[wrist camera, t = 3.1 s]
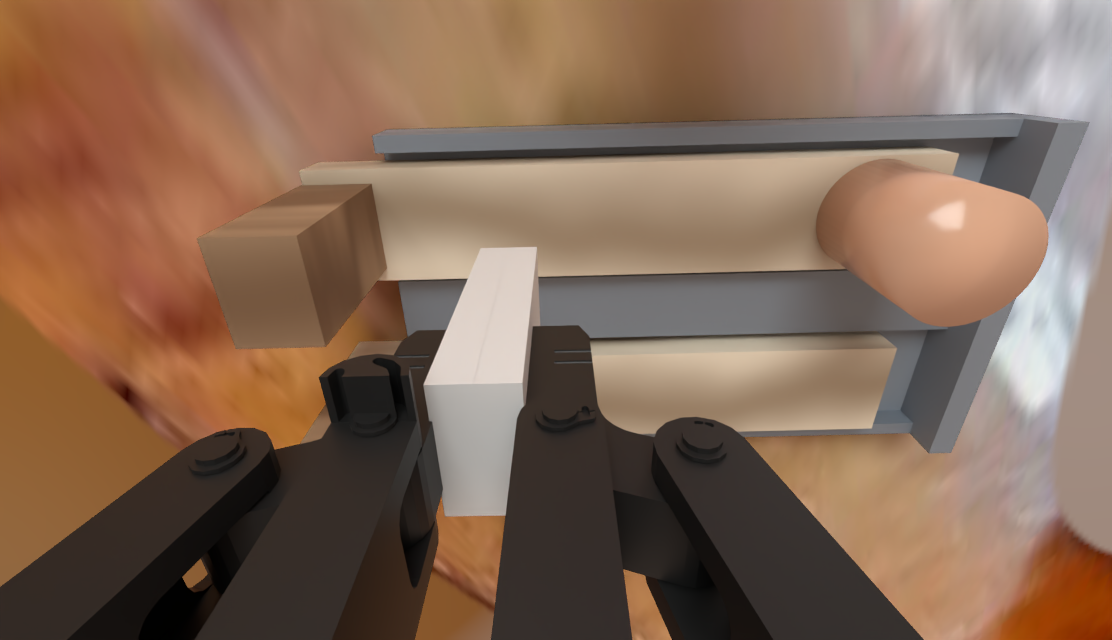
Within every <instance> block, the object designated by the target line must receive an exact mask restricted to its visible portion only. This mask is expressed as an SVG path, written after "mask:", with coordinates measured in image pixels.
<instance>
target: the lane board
mask: <svg viewBox="0 0 1112 640" xmlns="http://www.w3.org/2000/svg"><path fill="white" fill-rule="evenodd" d="M1089 123H1090V122H1083V121H1074V120H1066V119H1058V118H1049V117H1041V116H1032V115H1024V114H1016V113H995V114H957V115H919V116H881V117H843V118H805V119H767V120H729V121H692V122H654V123H616V124H578V125H540V126H502V127H464V128H426V129H389V130H385V131H382V132H380V133H378V134H375V135H373V136H372V138H373V143H374V149H375V153H384V155H385V160H421V159H459V158H498V157H536V156H574V155H612V154H651V153H689V152H727V151H765V150H804V149H842V148H880V147H919V146H928V147H933V148H937V149H941V150H946V151H950V152H954V153H958V154H959V156H958V159H957V163H956V166H955V169H954V172H953V176H957V177H960V178H964V179H967V180H971V181H974V182H977V183H981V184H984V185H988V186H991V187H995V188H998V189H1002V190H1005V191H1008V192H1012V193H1015V194H1018V195H1021V196H1024V197H1026V198H1027V199H1029V200H1031V201H1032V202H1033V203H1034V204H1036V205H1037V206H1038V208H1039V209H1040V210H1041V211H1042V213H1043V215H1044V217H1045V219H1046V222H1047V223H1048V220H1049V218H1050V216H1051V213H1052V211H1053V208H1054V206H1055V204H1056V201H1057V199H1058V196H1059V194H1060V192H1061V189H1062V187H1063V185H1064V182H1065V180H1066V177H1067V175H1068V173H1069V170H1070V168H1071V165H1072V163H1073V161H1074V158H1075V156H1076V154H1077V151H1078V149H1079V146H1080V144H1081V142H1082V139H1083V137H1084V134H1085V132H1086V130H1087V127H1088V125H1089ZM467 280H468V279H428V280H399V281H398V285H399V290H400V296H401V302H402V307H403V313H404V319H405V324H406V330H407V336H410V335H411V334H413V333H414V332H415V331H417V330H447V327H448V325H449V323H450V320H451V318H452V316H453V313H454V311H455V308H456V306H457V304H458V301H459V299H460V296H461V294H462V292H463V289H464V287H465V284H466V282H467ZM538 283H539V307H540V326H566V325H579V326H580V327H581V328H582V329H583V330H584V331H585V332H586V333H587V334H588V335H589V337H590V338H609V337H650V336H691V335H731V334H772V333H813V332H854V331H877V332H879V333H880V334H881V335H882V336H883V337H884V338H886V339H887V340H888V341H889V342H890V343H892V344H893V345H894V346H895V347H896V348H897V351H896V354H895V357H894V360H893V363H892V366H891V369H890V372H889V376H888V379H887V382H886V385H885V388H884V391H883V394H882V397H881V401H880V404H879V407H878V410H877V413H876V416H875V419H874V422H873V426H872V428H870V429H828V430H785V431H743V432H738V433H739V434H740V435H741V436H743V437H767V436H810V435H852V434H895V433H910V434H911V435H912V436H913V437H914V438H915V439H916V440H917V441H918V442H919V444H920V445H921V446H922V447H923V448H924V449H925V450H926V451H927V452H928V453H951V452H952V449H953V447H954V445H955V442H956V440H957V437H958V435H959V433H960V430H961V428H962V425H963V423H964V421H965V418H966V416H967V414H968V411H969V409H970V406H971V404H972V402H973V399H974V397H975V394H976V392H977V390H978V387H979V385H980V383H981V380H982V378H983V375H984V373H985V371H986V368H987V366H988V363H989V361H990V359H991V356H992V354H993V352H994V349H995V347H996V344H997V342H998V340H999V337H1000V335H1001V332H1002V330H1003V328H1004V325H1005V323H1006V321H1007V318H1008V316H1009V313H1010V311H1011V309H1012V306H1013V304H1014V301H1015V299H1016V298H1015V299H1014V300H1013V301H1012V302H1010V303H1009V304H1008V305H1006V306H1005V307H1003V308H1002V309H1000V310H999V311H997V312H995V313H994V314H992V315H990V316H988V317H986V318H983V319H981V320H978V321H976V322H972V323H969V324H965V325H960V326H951V327H940V326H933V325H929V324H926V323H923V322H921V321H919V320H917V319H915V318H914V317H912V316H911V315H910V314H908V313H907V312H905V311H904V310H903V309H901V308H900V307H898V306H897V305H896V304H894V303H893V302H891V301H890V300H889V299H887V298H886V297H884V296H883V295H882V294H880V293H879V292H877V291H876V290H875V289H873V288H872V287H870V286H869V285H868V284H866V283H865V282H863V281H862V280H861V279H859V278H858V277H856V276H855V275H854V274H852V273H851V272H849V271H848V270H847V269H827V270H787V271H747V272H707V273H668V274H628V275H588V276H548V277H538ZM642 435H646V436H651V437H655V434H642Z"/></svg>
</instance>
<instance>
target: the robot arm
mask: <svg viewBox="0 0 1112 640" xmlns="http://www.w3.org/2000/svg"><path fill="white" fill-rule="evenodd" d="M319 380H320V383H321V387H322V391H323V395H324V398H325V402H326V406H327V409H328V413H329V417H330V421H331V424H330V425H329V427H328V429H327V430H326V432H325V433H324V435H323V437H322V438H321V439H318V440H315V441H311V442H307V443H303V444H298V445H294V446H289V447H285V448H280V449H276V450H274V447H273V445H272V442H271V439H270V438H269V436H268V435H267V433H266V432H263V431H261V430H258V429H255V428H236V429H229V430H224V431H220V432H216V433H214V434H212V435H210V436H207V437H205V438H202V439H200V440H198V441H196V442H195V443H193V444H191V445H190V446H188V447H186V448H185V449H183V450H182V451H180V452H179V453H178V454H176V455H175V456H174V457H172V458H171V459H170V460H168V461H167V462H166V463H164V464H163V465H162V466H160V467H159V468H158V469H156V470H155V471H154V472H152V473H151V474H150V475H148V476H147V477H146V478H144V479H143V480H142V481H140V482H139V483H138V484H136V485H135V486H134V487H132V488H131V489H130V490H128V491H127V492H126V493H124V494H123V495H122V496H120V497H119V498H118V499H116V500H115V501H114V502H113V503H111V504H110V505H109V506H107V507H106V508H105V509H103V510H102V511H101V512H99V513H98V514H97V515H95V516H94V517H93V518H91V519H90V520H89V521H87V522H86V523H85V524H83V525H82V526H81V527H79V528H78V529H77V530H75V531H74V532H73V533H71V534H70V535H69V536H67V537H66V538H65V539H63V540H62V541H61V542H59V543H58V544H57V545H55V546H54V547H53V548H52V549H50V550H49V551H47V552H46V553H45V554H43V555H42V556H41V557H39V558H38V559H37V560H35V561H34V562H33V563H31V564H30V565H29V566H28V567H26V568H25V569H23V570H22V571H21V572H20V573H18V574H17V575H16V576H14V577H13V578H12V579H10V580H9V581H8V582H6V583H5V584H4V585H2V586H1V587H0V640H415V636H416V632H417V628H418V624H419V620H420V615H421V612H422V608H423V603H424V599H425V595H426V591H427V587H428V583H429V579H430V575H431V571H432V567H433V563H434V559H435V554H436V550H437V546H438V526H437V520H436V513H437V509H438V506H439V502H440V498H441V496H442V502H443V508H444V514H445V516H501V515H506V516H505V525H504V533H503V542H502V550H501V559H500V567H499V576H498V585H497V593H496V602H495V610H494V619H493V628H492V636H491V640H632V634H631V626H630V618H629V611H628V603H627V595H626V588H625V580H624V572H623V569H625V570H628V571H632V572H635V573H639V574H642V575H645V577H646V581H647V584H648V587H649V589H650V591H651V593H652V596H653V598H654V600H655V602H656V605H657V607H658V609H659V611H660V614H661V616H662V618H663V620H664V623H665V625H666V627H667V629H668V632H669V634H670V636H671V638H672V640H924V639H923V638H922V637H921V636H920V635H919V634H918V633H917V632H916V630H915V629H914V628H913V627H912V626H911V625H910V624H909V623H908V621H907V620H906V619H905V618H904V617H903V616H902V615H901V614H900V612H899V611H898V610H897V609H896V608H895V607H894V606H893V605H892V603H891V602H890V601H889V600H888V599H887V598H886V597H885V596H884V594H883V593H882V592H881V591H880V590H879V589H878V588H877V587H876V585H875V584H874V583H873V582H872V581H871V580H870V579H869V578H868V576H867V575H866V574H865V573H864V572H863V571H862V570H861V569H860V567H859V566H858V565H857V564H856V563H855V562H854V561H853V560H852V558H851V557H850V556H849V555H848V554H847V553H846V552H845V551H844V549H843V548H842V547H841V546H840V545H839V544H838V543H837V542H836V540H835V539H834V538H833V537H832V536H831V535H830V534H829V533H828V531H827V530H826V529H825V528H824V527H823V526H822V525H821V524H820V522H819V521H818V520H817V519H816V518H815V517H814V516H813V515H812V513H811V512H810V511H809V510H808V509H807V508H806V507H805V506H804V505H803V503H802V502H801V501H800V500H799V499H798V498H797V497H796V496H795V494H794V493H793V492H792V491H791V490H790V489H789V488H788V487H787V485H786V484H785V483H784V482H783V481H782V480H781V479H780V478H779V476H778V475H777V474H776V473H775V472H774V471H773V470H772V469H771V467H770V466H769V465H768V464H767V463H766V462H765V461H764V460H763V458H762V457H761V456H760V455H759V454H758V453H757V452H756V451H755V449H754V448H753V447H752V446H751V445H750V444H749V443H748V442H747V440H746V439H745V438H744V437H743V436H741V435H740V434H739V433H738V432H736V431H735V430H734V429H733V428H732V427H729V426H727V425H725V424H723V423H720V422H718V421H716V420H711V419H706V418H701V417H682V418H678V419H675V420H672V421H669V422H666V423H665V424H664V425H663V426H661V427H660V428H659V429H658V430H657V431H656V434H655V437H651V436H646V435H642V434H637V433H633V432H630V431H626V430H624V429H622V428H619V427H617V426H615V425H614V424H612V423H611V422H610V421H608V420H607V419H606V418H605V417H604V416H603V414H602V413H601V411H600V409H599V406H598V402H597V394H596V386H595V378H594V369H593V363H592V353H591V345H590V337H589V335H588V334H587V333H586V332H585V331H584V330H583V329H582V328H581V327H580V326H579V325H566V326H540V307H539V283H538V260H537V247H510V248H481V249H480V251H479V253H478V256H477V258H476V261H475V263H474V265H473V268H472V270H471V273H470V275H469V277H468V280H467V282H466V284H465V287H464V289H463V292H462V294H461V296H460V299H459V301H458V304H457V306H456V308H455V311H454V313H453V316H452V318H451V320H450V323H449V325H448V327H447V330H417V331H415V332H414V333H413V334H411V335H410V336H408V337H407V338H406V339H404V340H403V341H402V342H401V343H400V345H399V346H398V348H397V350H396V352H395V353H394V355H387V354H371V355H363V356H358V357H355V358H351V359H348V360H344V361H342V362H340V363H338V364H336V365H334V366H332V367H330V368H329V369H328V370H326V371H325V372H324V373H323V374H322V375H321V376H320V377H319ZM200 558H201V560H202V562H203V564H204V566H205V569H206V570H207V573H208V575H207V576H206V577H205V578H204V579H203V580H201V581H200V582H199V583H197V584H196V585H195V586H193V587H192V588H188V587H187V586H186V584H185V582H184V580H183V578H182V576H183V575H184V574H185V573H186V572H187V571H188V570H189V569H190V568H191V567H192V566H193V565H194V564H195V563H196V562H197V561H198V560H199V559H200Z"/></svg>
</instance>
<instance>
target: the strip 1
mask: <svg viewBox="0 0 1112 640" xmlns="http://www.w3.org/2000/svg"><path fill="white" fill-rule="evenodd" d="M958 156H959V154H958V153H954V152H950V151H946V150H941V149H937V148H933V147H928V146H919V147H880V148H842V149H804V150H765V151H727V152H689V153H651V154H612V155H574V156H536V157H498V158H459V159H421V160H383V161H344V162H318V163H316V164H313V165H311V166H309V167H307V168H304V169H302V170H300V171H299V173H300V178H301V182H302V185H301V186H299V187H297V188H295V189H293V190H291V191H289V192H287V193H285V194H283V195H281V196H279V197H277V198H275V199H273V200H271V201H269V202H267V203H265V204H263V205H261V206H259V207H258V208H256V209H254V210H252V211H250V212H248V213H246V214H244V215H242V216H240V217H238V218H236V219H234V220H232V221H230V222H228V223H226V224H224V225H222V226H220V227H218V228H216V229H214V230H212V231H210V232H208V233H206V234H204V235H202V236H200V237H198V238H197V241H198V244H199V246H200V249H201V252H202V255H203V258H204V261H205V263H206V266H207V269H208V272H209V275H210V277H211V280H212V283H213V286H214V289H215V292H216V294H217V297H218V300H219V303H220V306H221V309H222V311H223V314H224V317H225V320H226V323H227V325H228V328H229V331H230V334H231V337H232V340H233V342H234V345H235V348H236V349H263V348H304V347H326V346H327V344H328V343H329V342H330V341H331V339H332V338H333V337H334V336H335V334H336V333H337V332H338V330H339V329H340V328H341V327H342V325H343V324H344V323H345V322H346V320H347V319H348V318H349V316H350V315H351V314H352V313H353V311H354V310H355V309H356V307H357V306H358V305H359V304H360V302H361V301H362V300H363V299H364V297H365V296H366V295H367V293H368V292H369V291H370V290H371V288H372V287H373V286H374V285H375V283H376V282H377V281H388V280H428V279H468V277H469V275H470V273H471V270H472V268H473V265H474V263H475V261H476V258H477V256H478V253H479V251H480V249H481V248H510V247H537V260H538V277H548V276H588V275H628V274H668V273H707V272H747V271H787V270H827V269H845V268H844V267H842V266H841V265H840V264H838V263H837V262H835V261H834V260H833V259H831V258H830V257H829V256H828V255H827V254H826V253H825V252H824V251H823V249H822V248H821V246H820V244H819V242H818V238H817V234H816V220H817V215H818V211H819V208H820V206H821V203H822V201H823V199H824V198H825V196H826V194H827V193H828V191H829V190H830V189H831V187H832V186H833V185H834V184H835V183H836V182H837V181H838V180H839V179H840V178H841V177H842V176H843V175H845V174H846V173H847V172H849V171H850V170H852V169H854V168H855V167H857V166H859V165H862V164H864V163H867V162H870V161H873V160H878V159H897V160H902V161H905V162H909V163H912V164H915V165H919V166H922V167H926V168H929V169H933V170H936V171H940V172H943V173H946V174H950V175H953V172H954V169H955V166H956V163H957V159H958Z"/></svg>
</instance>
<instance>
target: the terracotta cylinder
mask: <svg viewBox="0 0 1112 640" xmlns="http://www.w3.org/2000/svg"><path fill="white" fill-rule="evenodd" d="M816 234H817V238H818V242H819V244H820V246H821V248H822V249H823V251H824V252H825V253H826V254H827V255H828V256H829V257H830V258H831V259H833V260H834V261H835V262H837V263H838V264H840V265H841V266H842V267H844V268H845V269H847V270H848V271H849V272H851V273H852V274H854V275H855V276H856V277H858V278H859V279H861V280H862V281H863V282H865V283H866V284H868V285H869V286H870V287H872V288H873V289H875V290H876V291H877V292H879V293H880V294H882V295H883V296H884V297H886V298H887V299H889V300H890V301H891V302H893V303H894V304H896V305H897V306H898V307H900V308H901V309H903V310H904V311H905V312H907V313H908V314H910V315H911V316H912V317H914V318H915V319H917V320H919V321H921V322H923V323H926V324H929V325H933V326H940V327H951V326H960V325H965V324H969V323H972V322H976V321H978V320H981V319H983V318H986V317H988V316H990V315H992V314H994V313H995V312H997V311H999V310H1000V309H1002V308H1003V307H1005V306H1006V305H1008V304H1009V303H1010V302H1012V301H1013V300H1014V299H1015V298H1016V297H1017V296H1018V295H1019V294H1020V293H1021V292H1022V291H1023V290H1024V289H1025V288H1026V287H1027V286H1028V285H1029V283H1030V282H1031V281H1032V279H1033V278H1034V276H1035V275H1036V273H1037V272H1038V270H1039V268H1040V266H1041V264H1042V262H1043V260H1044V257H1045V254H1046V250H1047V246H1048V226H1047V222H1046V219H1045V217H1044V215H1043V213H1042V211H1041V210H1040V209H1039V208H1038V206H1037V205H1036V204H1034V203H1033V202H1032V201H1031V200H1029V199H1027V198H1026V197H1024V196H1021V195H1018V194H1015V193H1012V192H1008V191H1005V190H1002V189H998V188H995V187H991V186H988V185H984V184H981V183H977V182H974V181H971V180H967V179H964V178H960V177H957V176H953V175H950V174H946V173H943V172H940V171H936V170H933V169H929V168H926V167H922V166H919V165H915V164H912V163H909V162H905V161H902V160H897V159H878V160H873V161H870V162H867V163H864V164H862V165H859V166H857V167H855V168H854V169H852V170H850V171H849V172H847V173H846V174H845V175H843V176H842V177H841V178H840V179H839V180H838V181H837V182H836V183H835V184H834V185H833V186H832V187H831V189H830V190H829V191H828V193H827V194H826V196H825V198H824V199H823V201H822V203H821V206H820V208H819V211H818V215H817V220H816Z"/></svg>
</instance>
